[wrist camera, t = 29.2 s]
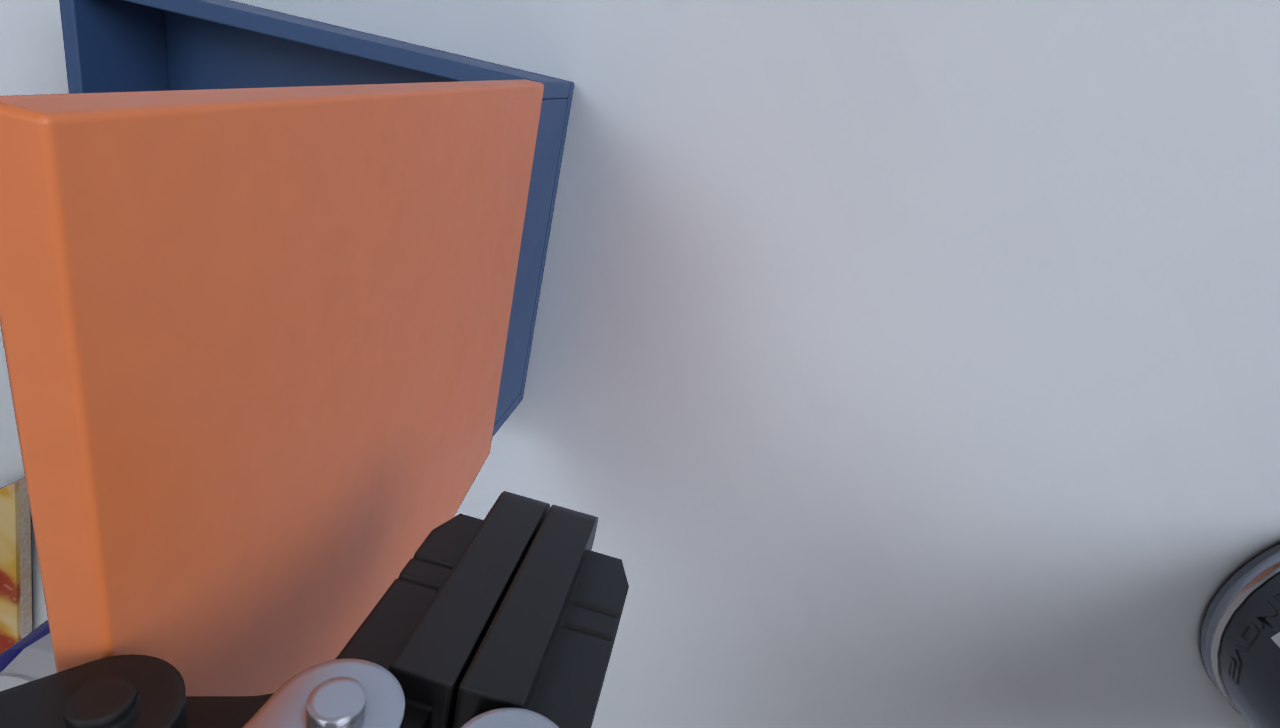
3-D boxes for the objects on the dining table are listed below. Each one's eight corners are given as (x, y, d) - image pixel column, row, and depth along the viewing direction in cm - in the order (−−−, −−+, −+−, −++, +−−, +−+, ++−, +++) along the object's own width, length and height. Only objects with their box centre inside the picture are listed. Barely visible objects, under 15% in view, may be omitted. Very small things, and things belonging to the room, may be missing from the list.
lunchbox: (178, 304, 29) (93, 336, 25) (162, -16, 24) (54, -35, 21) (522, 399, 28) (485, 446, 24) (574, 82, 23) (538, 81, 20)
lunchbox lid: (112, 1035, 9) (155, 1046, 9) (-45, 93, 5) (46, 115, 5) (473, 449, 24) (490, 453, 24) (523, 78, 19) (544, 83, 19)
